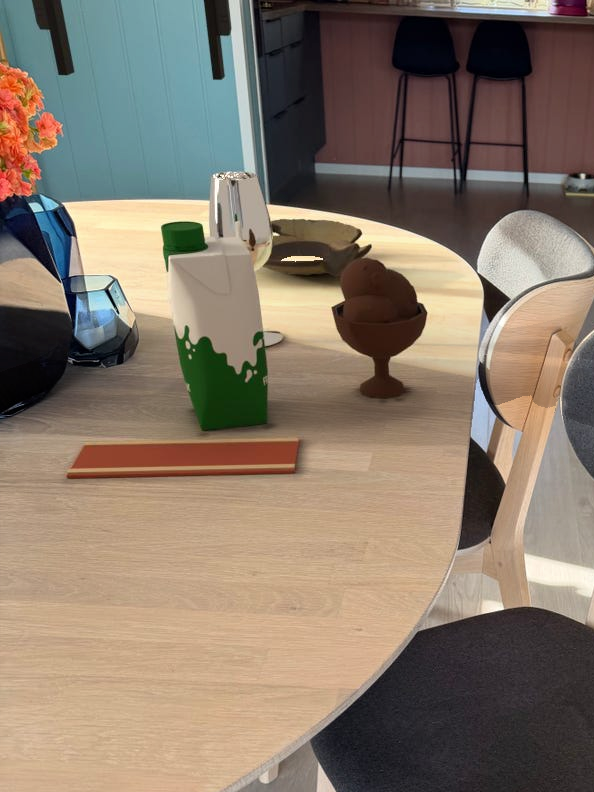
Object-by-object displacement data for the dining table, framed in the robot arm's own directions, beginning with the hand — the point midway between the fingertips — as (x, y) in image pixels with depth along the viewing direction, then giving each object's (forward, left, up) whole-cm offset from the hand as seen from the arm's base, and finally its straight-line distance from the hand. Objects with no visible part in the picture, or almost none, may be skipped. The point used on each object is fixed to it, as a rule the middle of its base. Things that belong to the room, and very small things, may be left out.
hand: (143, 76), depth 85 cm
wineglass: (+4, +25, -33) cm, 41 cm away
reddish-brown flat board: (+1, -12, -33) cm, 35 cm away
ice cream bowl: (+21, +6, -33) cm, 39 cm away
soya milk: (+4, -1, -33) cm, 33 cm away
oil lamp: (+9, +58, -33) cm, 67 cm away
